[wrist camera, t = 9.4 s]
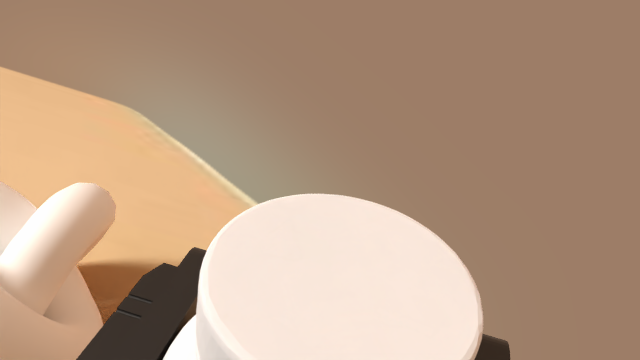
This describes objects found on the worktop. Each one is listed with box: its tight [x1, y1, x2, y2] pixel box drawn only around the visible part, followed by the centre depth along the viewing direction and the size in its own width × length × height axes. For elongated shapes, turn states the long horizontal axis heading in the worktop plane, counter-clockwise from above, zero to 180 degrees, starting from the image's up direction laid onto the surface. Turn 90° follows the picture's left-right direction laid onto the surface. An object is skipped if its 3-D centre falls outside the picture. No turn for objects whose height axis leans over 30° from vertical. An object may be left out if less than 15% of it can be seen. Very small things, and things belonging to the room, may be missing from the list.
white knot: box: [0, 181, 116, 360], centre depth 25 cm, size 11×12×9 cm
